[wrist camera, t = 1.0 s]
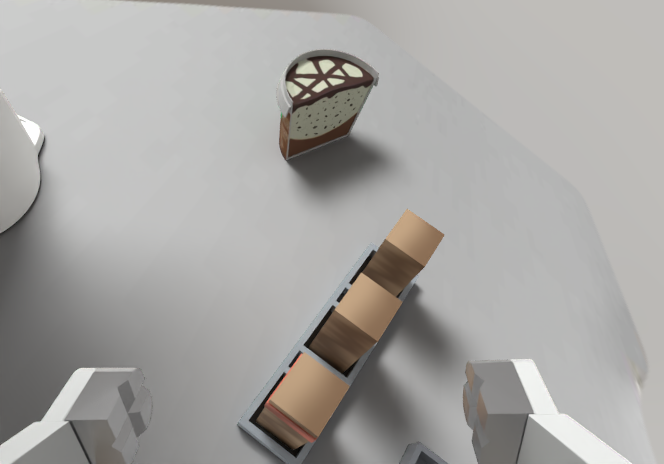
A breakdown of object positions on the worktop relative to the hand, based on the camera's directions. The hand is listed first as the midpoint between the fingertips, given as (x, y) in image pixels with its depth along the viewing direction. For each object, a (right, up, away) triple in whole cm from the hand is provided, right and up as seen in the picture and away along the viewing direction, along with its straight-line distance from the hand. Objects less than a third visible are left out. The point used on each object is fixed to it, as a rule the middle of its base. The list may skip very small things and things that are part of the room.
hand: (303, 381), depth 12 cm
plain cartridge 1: (+1, -7, +34) cm, 34 cm away
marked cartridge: (-3, -13, +30) cm, 32 cm away
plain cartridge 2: (+5, -2, +38) cm, 38 cm away
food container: (-3, +16, +46) cm, 49 cm away
